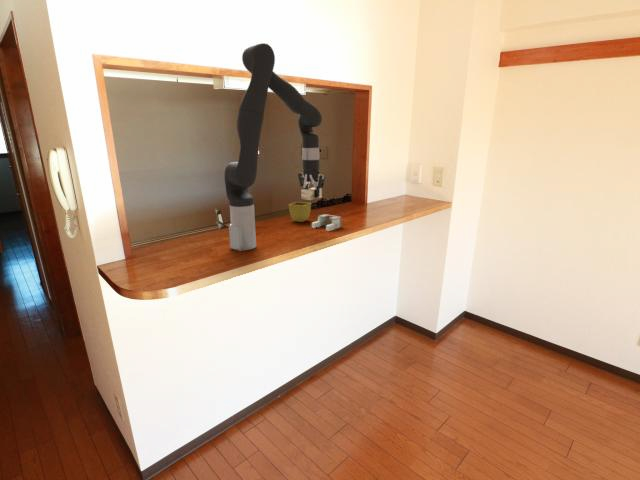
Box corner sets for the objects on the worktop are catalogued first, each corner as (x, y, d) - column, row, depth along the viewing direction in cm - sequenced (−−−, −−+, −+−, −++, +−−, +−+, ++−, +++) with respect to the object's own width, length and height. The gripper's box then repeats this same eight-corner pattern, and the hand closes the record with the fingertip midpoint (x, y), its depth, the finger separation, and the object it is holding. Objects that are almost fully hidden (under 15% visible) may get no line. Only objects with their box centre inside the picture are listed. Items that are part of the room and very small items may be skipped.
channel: (328, 231, 168) (328, 220, 167) (311, 227, 175) (311, 217, 173) (341, 227, 176) (341, 216, 174) (325, 223, 182) (325, 213, 181)
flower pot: (288, 221, 187) (288, 204, 184) (297, 218, 194) (297, 201, 191) (303, 223, 183) (303, 205, 180) (311, 220, 190) (311, 202, 188)
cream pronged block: (309, 200, 160) (309, 191, 158) (301, 198, 163) (301, 189, 162) (321, 197, 165) (321, 188, 164) (313, 196, 169) (313, 187, 167)
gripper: (292, 158, 160) (294, 196, 166) (318, 159, 152) (318, 200, 157) (304, 157, 166) (305, 194, 171) (329, 158, 157) (329, 197, 162)
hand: (311, 196), depth 164 cm, fingers closed on cream pronged block, 5 cm apart
